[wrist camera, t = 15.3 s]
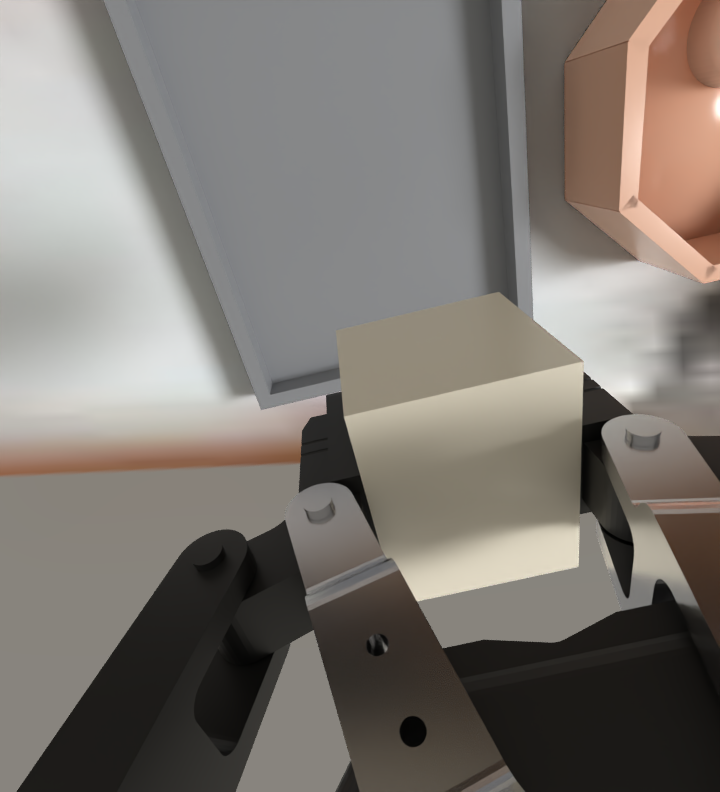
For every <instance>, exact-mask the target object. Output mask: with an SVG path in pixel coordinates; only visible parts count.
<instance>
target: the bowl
mask: <svg viewBox="0 0 720 792" xmlns="http://www.w3.org/2000/svg"><path fill="white" fill-rule="evenodd" d="M701 1H702V0H606V2H605V3H604V5H603V6H602V8H601V9H600V11H599V12H598V14H597V15H596V17H595V18H594V20H593V21H592V23H591V24H590V25H589V27H588V28H587V30H586V31H585V33H584V34H583V36H582V37H581V39H580V40H579V42H578V43H577V45H576V46H575V48H574V49H573V51H572V52H571V53H570V55H569V56H568V58H567V59H566V61H565V63H564V161H565V201H566V202H568V203H569V204H570V205H571V206H573V207H574V208H575V209H576V210H577V211H579V212H580V213H581V214H582V215H584V216H585V217H586V218H587V219H588V220H590V221H591V222H592V223H593V224H595V225H596V226H597V227H598V228H599V229H601V230H602V231H603V232H604V233H606V234H607V235H608V236H609V237H610V238H612V239H613V240H614V241H615V242H617V243H618V244H619V245H620V246H621V247H623V248H624V249H625V250H626V251H628V252H629V253H630V254H631V255H632V256H634V257H635V258H636V259H637V260H639V261H641V262H644V263H647V264H650V265H652V266H655V267H658V268H661V269H664V270H667V271H669V272H672V273H675V274H678V275H681V276H683V277H686V278H689V279H692V280H695V281H697V282H700V283H703V284H705V283H709V282H713V281H718V280H720V88H713V87H709V86H706V85H704V84H702V83H701V82H699V81H698V80H697V79H696V78H695V76H694V75H693V73H692V71H691V69H690V67H689V64H688V59H687V39H688V33H689V29H690V25H691V22H692V19H693V17H694V15H695V12H696V10H697V8H698V6H699V5H700V3H701Z"/></svg>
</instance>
